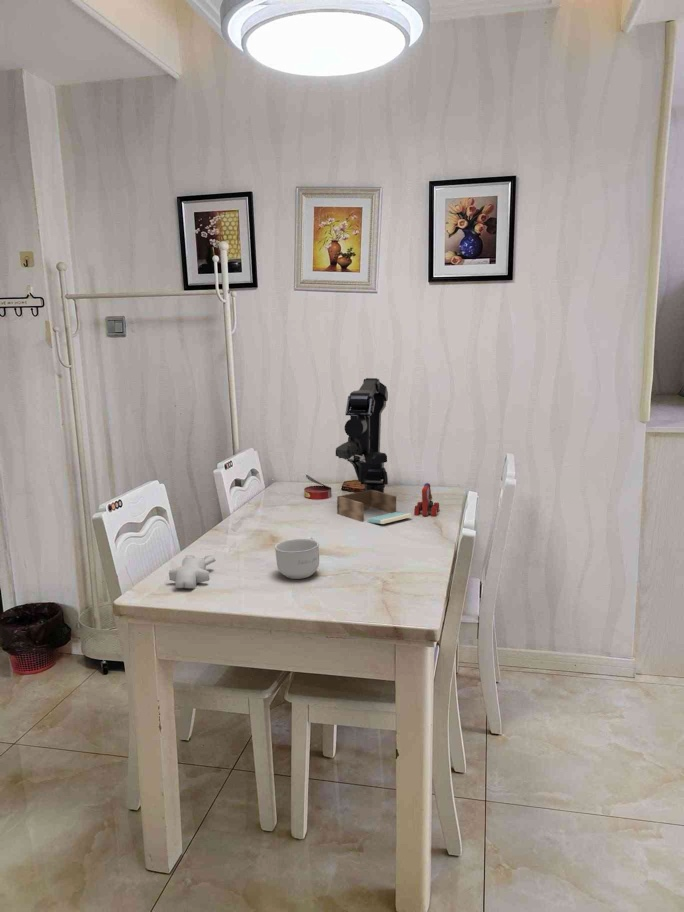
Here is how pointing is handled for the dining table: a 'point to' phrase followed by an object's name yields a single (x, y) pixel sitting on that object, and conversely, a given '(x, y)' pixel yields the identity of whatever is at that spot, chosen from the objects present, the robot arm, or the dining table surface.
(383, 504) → the crate
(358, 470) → the robot arm
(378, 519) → the teal flat slab
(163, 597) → the dining table surface
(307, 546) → the teacup
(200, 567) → the bunny figurine
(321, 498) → the canned food
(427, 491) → the toy fire truck
